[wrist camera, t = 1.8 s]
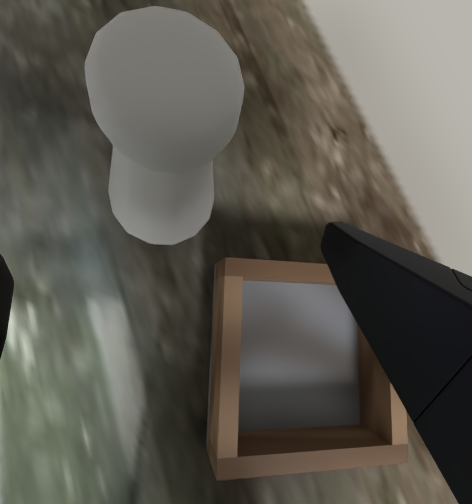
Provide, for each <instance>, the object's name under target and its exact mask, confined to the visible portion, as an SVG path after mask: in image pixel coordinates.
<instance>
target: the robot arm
mask: <svg viewBox="0 0 472 504" xmlns="http://www.w3.org/2000/svg"><path fill="white" fill-rule="evenodd" d="M321 251H322V253H323V256H324V258H325V260H326V263H327V265H328V267H329V270H330V272H331V275H332V277H333V279H334V282H335V284H336V286H337V288H338V290H339V292H340V294H341V296H342V298H343V299H344V301H345V303H346V305H347V306H348V308H349V310H350V312H351V313H352V315H353V317H354V319H355V321H356V322H357V324H358V326H359V328H360V329H361V331H362V333H363V335H364V336H365V338H366V340H367V342H368V344H369V345H370V347H371V349H372V351H373V352H374V354H375V356H376V358H377V360H378V361H379V363H380V365H381V367H382V368H383V370H384V372H385V374H386V375H387V377H388V379H389V381H390V383H391V384H392V386H393V388H394V390H395V391H396V393H397V395H398V397H399V398H400V400H401V402H402V404H403V406H404V407H405V409H406V411H407V413H408V414H409V416H410V418H411V420H412V421H413V422H414V425H415V427H416V429H417V431H418V432H419V434H420V436H421V438H422V440H423V441H424V443H425V445H426V447H427V448H428V450H429V452H430V454H431V455H432V457H433V459H434V461H435V463H436V464H437V466H438V468H439V470H440V471H441V473H442V475H443V477H444V479H445V480H446V482H447V484H448V486H449V487H450V489H451V491H452V493H453V494H454V496H455V498H456V500H457V502H458V503H459V504H472V277H471V276H469V275H466V274H464V273H462V272H459V271H457V270H454V269H450V267H447V266H445V265H443V264H440V263H438V262H435V261H433V260H431V259H428V258H426V257H424V256H421V255H419V254H417V253H414V252H412V251H409V250H407V249H405V248H402V247H400V246H398V245H395V244H393V243H391V242H388V241H386V240H383V239H381V238H379V237H376V236H374V235H372V234H369V233H367V232H364V231H362V230H360V229H357V228H355V227H353V226H350V225H348V224H346V223H343V222H330V223H328V224H327V225H326V228H325V231H324V235H323V238H322V242H321ZM13 290H14V280H13V277H12V275H11V273H10V271H9V269H8V266H7V264H6V262H5V260H4V258H3V257H2V255H1V254H0V358H1V355H2V351H3V348H4V344H5V340H6V335H7V330H8V323H9V316H10V310H11V303H12V296H13Z"/></svg>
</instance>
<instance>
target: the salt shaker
mask: <svg viewBox="0 0 472 504" xmlns="http://www.w3.org/2000/svg"><path fill="white" fill-rule="evenodd" d="M85 79H86V84H87V89H88V94H89V99H90V104H91V109H92V114H93V116H94V118H95V120H96V122H97V124H98V126H99V127H100V128H101V130H102V131H103V132H104V134H105V135H106V136H107V138H108V139H109V140H110V142H111V143H112V144H113V152H112V160H111V169H110V178H109V186H108V193H109V197H110V202H111V207H112V211H113V214H114V216H115V217H116V218H117V220H118V221H119V222H120V224H121V225H122V226H123V228H124V229H125V230H126V232H127V233H129V234H131V235H133V236H135V237H137V238H139V239H141V240H143V241H145V242H147V243H149V244H162V245H174V244H177V243H179V242H181V241H184V240H186V239H188V238H191V237H193V236H195V235H196V234H197V233H198V232H199V230H200V229H201V228H202V227H203V226H204V225H205V223H206V222H207V221H208V220H209V219H210V214H211V210H212V206H213V202H214V178H213V159H214V158H215V157H216V156H217V155H218V154H219V153H220V152H221V151H222V150H223V149H224V148H225V146H226V145H227V144H228V143H229V142H230V141H231V139H232V138H233V136H234V134H235V132H236V129H237V125H238V121H239V116H240V112H241V108H242V103H243V97H244V89H245V87H244V83H243V78H242V74H241V69H240V65H239V61H238V57H237V56H236V55H235V53H234V52H233V51H232V50H231V48H230V47H229V46H228V44H227V43H226V42H225V40H224V39H223V38H222V36H221V35H220V34H219V32H218V31H216V30H215V29H213V28H212V27H210V26H209V25H207V24H205V23H204V22H202V21H201V20H199V19H198V18H196V17H195V16H193V15H191V14H190V13H188V12H186V11H181V10H176V9H170V8H165V7H160V6H151V7H146V8H141V9H136V10H130V11H125V12H121V13H119V14H118V15H117V16H116V17H115V18H113V19H112V20H111V21H110V22H109V23H107V24H106V25H105V26H104V27H102V28H101V29H100V30H99V31H98V32H96V34H95V37H94V40H93V42H92V45H91V47H90V50H89V53H88V55H87V58H86V61H85Z"/></svg>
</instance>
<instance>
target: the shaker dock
mask: <svg viewBox="0 0 472 504" xmlns="http://www.w3.org/2000/svg"><path fill="white" fill-rule="evenodd" d="M206 449H207V452H208V455H209V459H210V462H211V465H212V468H213V471H214V475H215V478H216V481H222V480H232V479H243V478H253V477H264V476H275V475H285V474H296V473H306V472H317V471H328V470H338V469H349V468H360V467H370V466H381V465H391V464H402V463H408V440H407V417H406V409H405V407H404V406H403V404H402V402H401V400H400V398H399V397H398V395H397V393H396V391H395V390H394V388H393V386H392V384H391V383H390V381H389V379H388V377H387V375H386V374H385V372H384V370H383V368H382V367H381V365H380V363H379V361H378V360H377V358H376V356H375V354H374V352H373V351H372V349H371V347H370V345H369V344H368V342H367V340H366V338H365V336H364V335H363V333H362V331H361V329H360V328H359V326H358V324H357V322H356V321H355V319H354V317H353V315H352V313H351V312H350V310H349V308H348V306H347V305H346V303H345V301H344V299H343V298H342V296H341V294H340V292H339V290H338V288H337V286H336V284H335V282H334V279H333V277H332V275H331V272H330V270H329V267H328V265H327V264H319V263H304V262H289V261H274V260H259V259H245V258H230V257H225V258H224V259H222V260H220V261H219V262H217V263H216V264H214V285H213V307H212V329H211V351H210V372H209V394H208V416H207V438H206Z"/></svg>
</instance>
